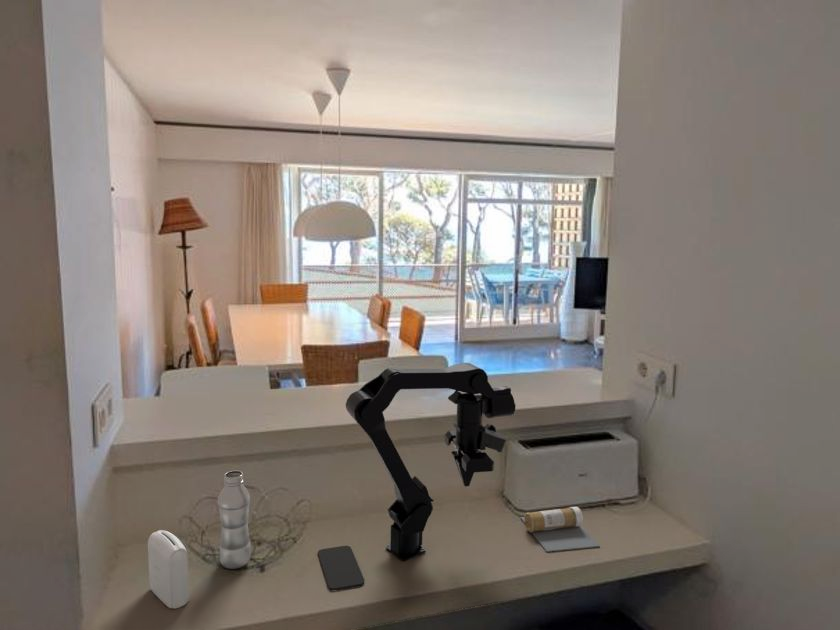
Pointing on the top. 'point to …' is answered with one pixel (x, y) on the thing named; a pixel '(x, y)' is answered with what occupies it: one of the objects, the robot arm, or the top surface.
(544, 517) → the sprinkles bottle
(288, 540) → the top surface
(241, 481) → the plastic bottle
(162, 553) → the photo printer
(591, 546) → the mat
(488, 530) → the top surface
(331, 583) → the phone
